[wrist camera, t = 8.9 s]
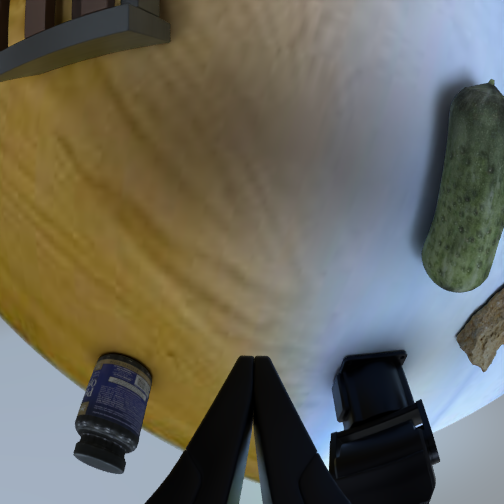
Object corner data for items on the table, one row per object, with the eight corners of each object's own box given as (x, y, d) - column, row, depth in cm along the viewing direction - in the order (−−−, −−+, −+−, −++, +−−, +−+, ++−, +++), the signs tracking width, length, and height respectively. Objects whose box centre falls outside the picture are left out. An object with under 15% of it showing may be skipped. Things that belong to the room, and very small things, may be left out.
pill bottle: (96, 344, 26) (58, 442, 17) (155, 362, 27) (129, 467, 18) (100, 376, 29) (73, 461, 20) (152, 392, 30) (132, 481, 21)
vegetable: (489, 299, 16) (443, 317, 16) (448, 260, 21) (401, 270, 20) (541, 97, 9) (500, 74, 8) (480, 81, 13) (430, 64, 13)
